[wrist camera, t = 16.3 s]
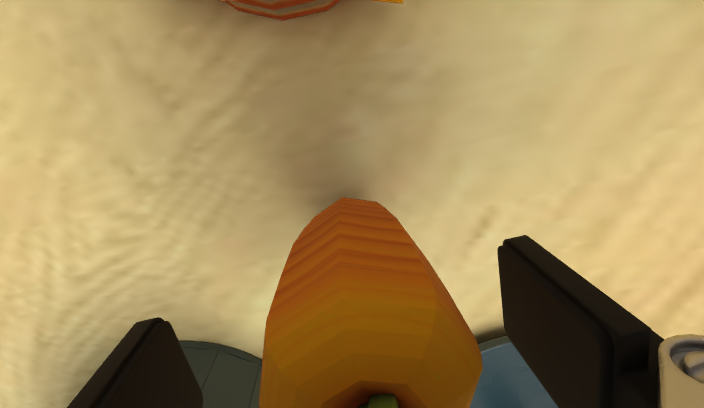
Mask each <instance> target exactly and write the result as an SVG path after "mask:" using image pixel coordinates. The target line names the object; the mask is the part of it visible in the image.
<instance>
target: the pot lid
mask: <svg viewBox="0 0 704 408" xmlns="http://www.w3.org/2000/svg"><path fill="white" fill-rule="evenodd" d="M478 346H479V349H480V352H481V357H482V365H483V370H482V372H481V375H480V378H479V381H478V384H477V387H476V390H475V393H474V396H473V399H472V401H471V404H470V407H469V408H558V407H557V405H556V404H555V402H554V401H553V400H552V398H551V397H550V395H549V394H548V393H547V391H546V390H545V388H544V387H543V386H542V384H541V383H540V381H539V380H538V379H537V377H536V376H535V374H534V373H533V372H532V370H531V369H530V368H529V366H528V365H527V363H526V362H525V361H524V359H523V358H522V356H521V355H520V354H519V352H518V351H517V349H516V348H515V347H514V345H513V344H512V342H511V341H510V340H509V338H508V336H507V335H506V336H502V337H498V338H495V339H491V340H488V341H485V342H483V343H480V344H478Z"/></svg>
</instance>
